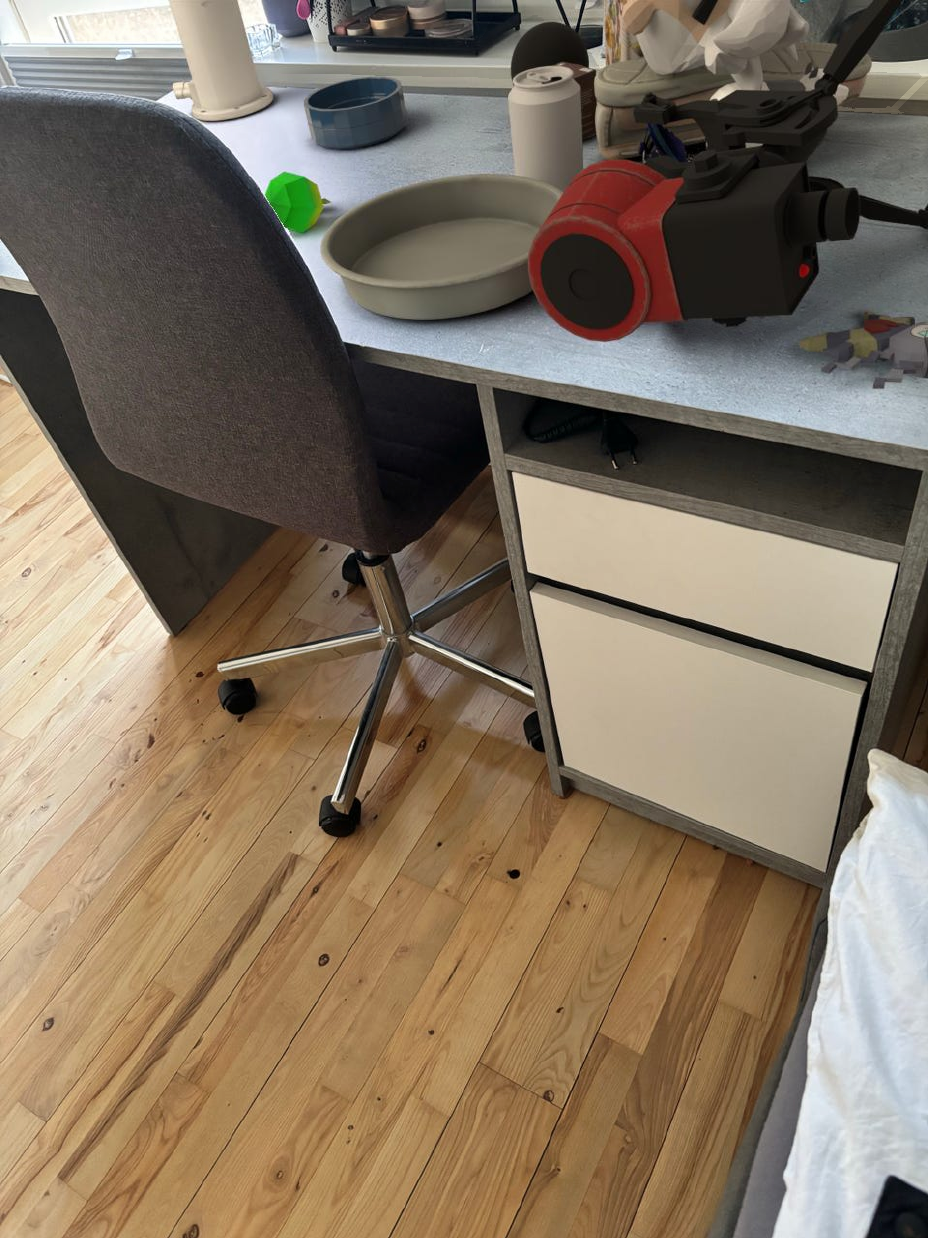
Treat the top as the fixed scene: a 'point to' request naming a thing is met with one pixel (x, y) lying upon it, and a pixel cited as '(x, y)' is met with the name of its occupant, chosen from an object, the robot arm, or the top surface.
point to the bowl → (356, 112)
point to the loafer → (690, 93)
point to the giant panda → (786, 88)
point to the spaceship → (661, 144)
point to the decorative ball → (548, 48)
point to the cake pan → (440, 245)
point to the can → (546, 125)
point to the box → (585, 96)
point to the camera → (708, 212)
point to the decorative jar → (619, 35)
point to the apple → (295, 201)
